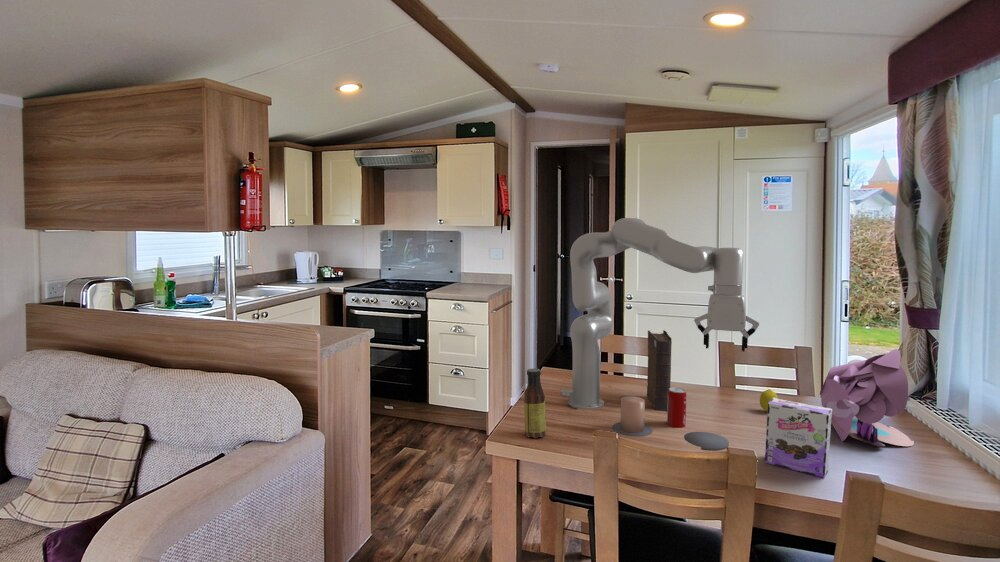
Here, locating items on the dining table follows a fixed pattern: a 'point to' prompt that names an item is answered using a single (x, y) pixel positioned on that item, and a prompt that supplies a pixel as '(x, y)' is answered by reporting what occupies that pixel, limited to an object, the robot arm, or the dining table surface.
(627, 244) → the robot arm
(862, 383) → the flower arrangement
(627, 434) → the left coaster
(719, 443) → the right coaster
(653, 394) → the book
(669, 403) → the soda can
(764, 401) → the lemon
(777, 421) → the candy box
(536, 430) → the sauce bottle
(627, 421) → the beige rounded cylinder
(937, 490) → the dining table surface
